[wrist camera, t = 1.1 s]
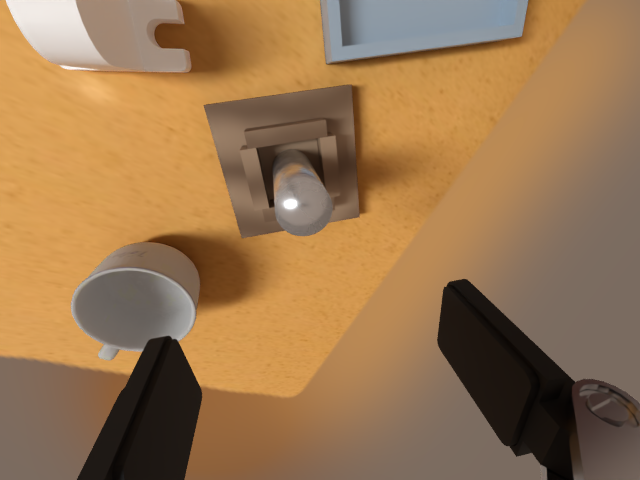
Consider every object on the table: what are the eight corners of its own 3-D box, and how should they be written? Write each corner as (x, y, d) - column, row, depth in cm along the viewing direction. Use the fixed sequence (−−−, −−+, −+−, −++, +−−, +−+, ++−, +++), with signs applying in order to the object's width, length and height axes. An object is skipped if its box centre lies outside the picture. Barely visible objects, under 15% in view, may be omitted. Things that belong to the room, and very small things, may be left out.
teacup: (151, 212, 32) (117, 247, 25) (227, 270, 36) (217, 313, 30) (74, 286, 34) (25, 337, 27) (155, 331, 39) (130, 384, 32)
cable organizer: (47, -8, 23) (-93, -69, 14) (180, -1, 24) (130, -52, 15) (73, 70, 25) (-32, 60, 16) (192, 72, 26) (155, 64, 18)
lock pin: (268, 152, 29) (269, 187, 19) (307, 146, 30) (329, 177, 19) (276, 189, 31) (280, 240, 21) (312, 183, 31) (335, 230, 21)
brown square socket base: (206, 104, 28) (197, 106, 24) (347, 84, 29) (358, 84, 25) (242, 232, 34) (239, 248, 31) (356, 212, 36) (365, 225, 32)
